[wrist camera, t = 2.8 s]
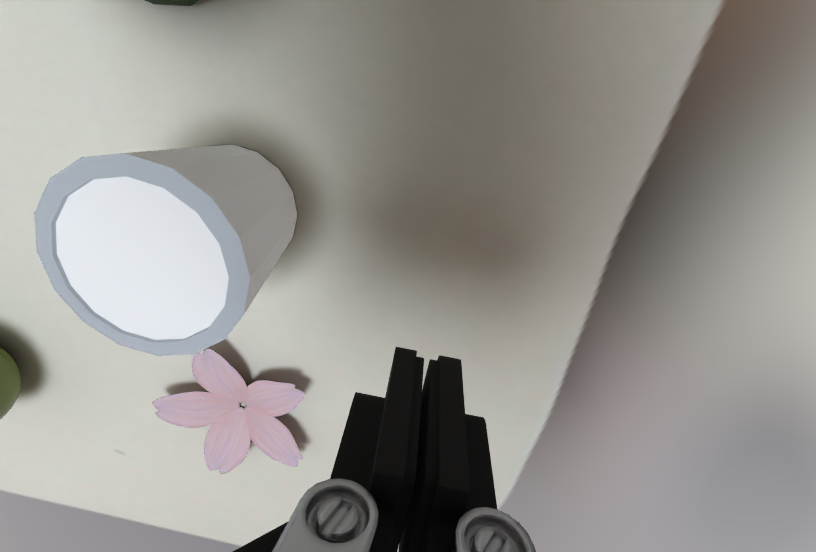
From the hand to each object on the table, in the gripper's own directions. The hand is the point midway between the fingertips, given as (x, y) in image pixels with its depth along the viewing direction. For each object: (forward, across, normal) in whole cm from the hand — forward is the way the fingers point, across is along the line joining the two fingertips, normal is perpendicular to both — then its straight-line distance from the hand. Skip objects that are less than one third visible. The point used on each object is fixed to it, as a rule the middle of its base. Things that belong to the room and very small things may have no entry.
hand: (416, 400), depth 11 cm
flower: (+10, +8, +10) cm, 17 cm away
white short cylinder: (+10, +9, -1) cm, 14 cm away
